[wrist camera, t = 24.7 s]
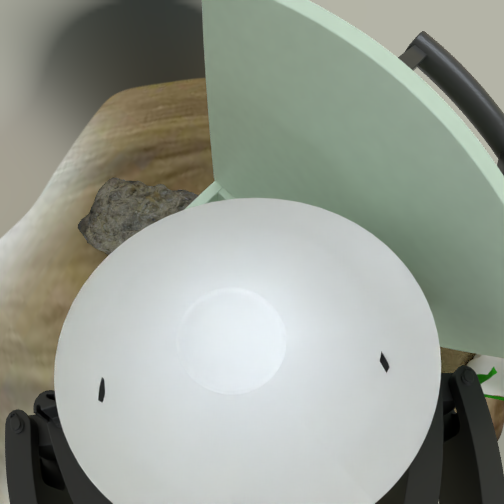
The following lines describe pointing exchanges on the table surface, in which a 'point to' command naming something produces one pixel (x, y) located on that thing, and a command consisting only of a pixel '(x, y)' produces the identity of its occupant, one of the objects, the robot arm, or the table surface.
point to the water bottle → (482, 364)
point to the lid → (365, 147)
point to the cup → (248, 361)
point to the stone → (128, 211)
